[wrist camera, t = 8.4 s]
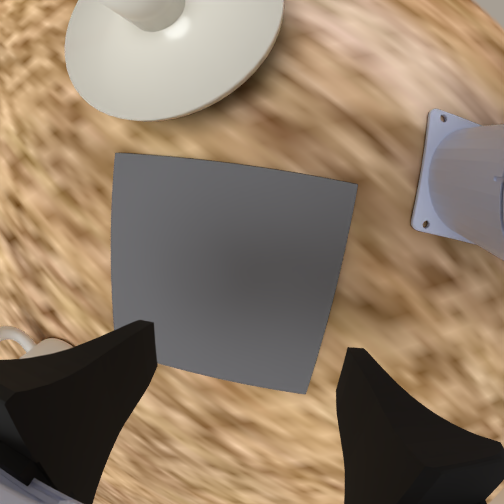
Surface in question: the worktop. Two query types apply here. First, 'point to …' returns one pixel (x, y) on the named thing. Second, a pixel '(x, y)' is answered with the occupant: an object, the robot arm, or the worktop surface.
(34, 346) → the mug
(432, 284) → the worktop surface
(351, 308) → the worktop surface
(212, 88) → the lid
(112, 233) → the mat
